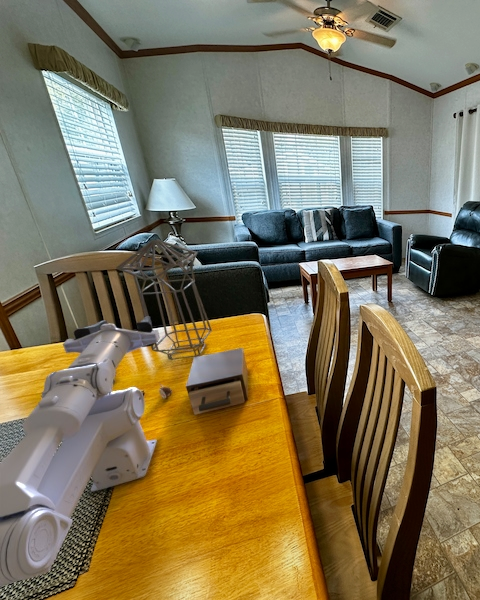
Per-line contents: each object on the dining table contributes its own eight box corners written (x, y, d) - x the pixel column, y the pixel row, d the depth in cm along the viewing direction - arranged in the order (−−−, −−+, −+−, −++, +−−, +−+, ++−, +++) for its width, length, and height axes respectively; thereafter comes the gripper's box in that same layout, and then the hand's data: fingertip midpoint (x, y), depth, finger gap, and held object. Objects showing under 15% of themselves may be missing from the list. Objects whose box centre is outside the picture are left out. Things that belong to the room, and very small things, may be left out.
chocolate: (175, 396, 81) (171, 383, 80) (165, 401, 80) (160, 388, 78) (170, 392, 83) (166, 379, 81) (160, 396, 81) (155, 383, 80)
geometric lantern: (206, 362, 96) (175, 244, 83) (146, 369, 92) (103, 247, 79) (221, 337, 110) (196, 233, 97) (168, 343, 107) (136, 236, 94)
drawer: (244, 414, 74) (239, 393, 72) (191, 427, 70) (185, 406, 68) (244, 374, 88) (240, 356, 86) (200, 384, 84) (195, 365, 82)
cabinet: (247, 399, 80) (242, 374, 77) (193, 412, 76) (185, 386, 73) (247, 370, 92) (242, 347, 89) (200, 380, 87) (194, 357, 85)
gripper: (145, 330, 61) (163, 302, 73) (43, 341, 56) (79, 309, 67) (154, 362, 64) (169, 330, 76) (57, 375, 59) (90, 339, 70)
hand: (127, 322), depth 72 cm, fingers open, 7 cm apart
